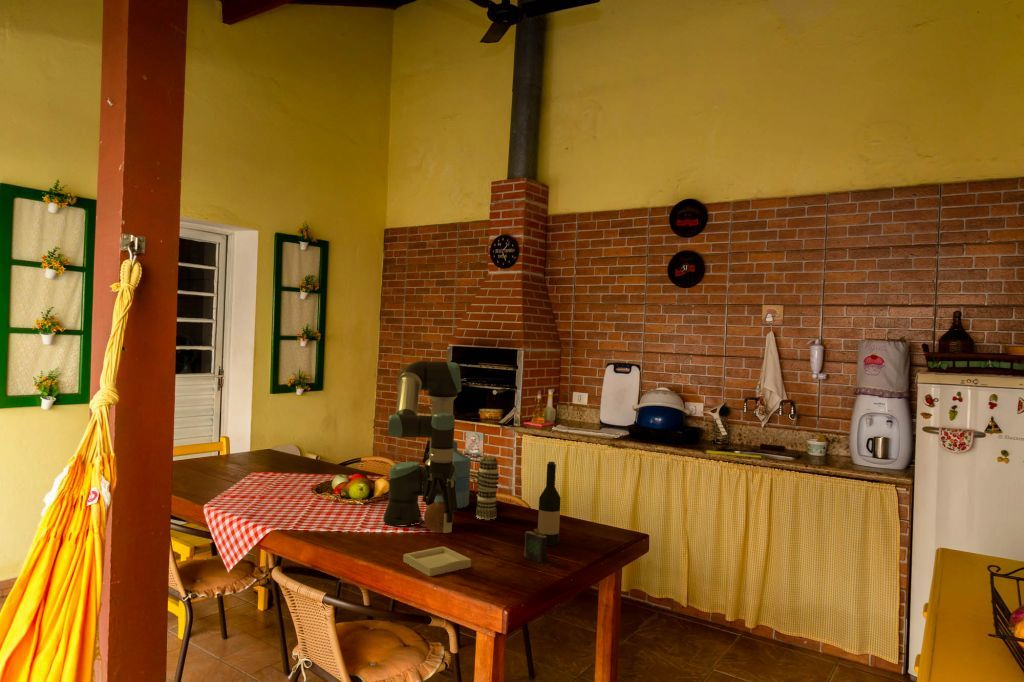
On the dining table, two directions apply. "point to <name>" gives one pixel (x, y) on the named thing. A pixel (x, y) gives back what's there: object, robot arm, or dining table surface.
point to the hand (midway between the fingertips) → (438, 528)
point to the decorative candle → (487, 488)
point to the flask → (535, 546)
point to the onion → (435, 517)
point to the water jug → (460, 478)
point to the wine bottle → (549, 508)
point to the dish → (436, 561)
